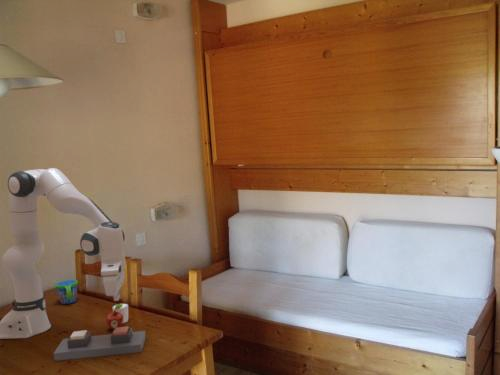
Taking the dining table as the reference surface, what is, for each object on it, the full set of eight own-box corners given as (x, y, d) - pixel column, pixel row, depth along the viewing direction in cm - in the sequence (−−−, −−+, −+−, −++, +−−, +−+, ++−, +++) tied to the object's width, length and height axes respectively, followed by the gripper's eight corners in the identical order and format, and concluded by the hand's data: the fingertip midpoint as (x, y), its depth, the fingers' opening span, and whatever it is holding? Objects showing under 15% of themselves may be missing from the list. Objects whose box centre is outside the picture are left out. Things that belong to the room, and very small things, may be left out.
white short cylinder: (131, 318, 224) (130, 303, 223) (126, 324, 217) (125, 308, 217) (117, 318, 225) (115, 303, 224) (111, 324, 218) (109, 309, 217)
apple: (117, 332, 208) (115, 309, 207) (104, 331, 211) (101, 308, 210) (128, 325, 216) (125, 303, 214) (114, 324, 218) (112, 302, 217)
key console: (54, 361, 186) (52, 345, 185) (64, 346, 198) (62, 331, 198) (141, 352, 188) (140, 336, 187) (145, 337, 201) (144, 323, 200)
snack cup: (57, 299, 258) (55, 280, 257) (79, 295, 261) (76, 276, 260) (57, 308, 243) (55, 288, 242) (80, 304, 247) (78, 284, 246)
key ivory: (71, 344, 189) (70, 336, 189) (74, 338, 194) (73, 331, 194) (84, 342, 190) (83, 335, 189) (87, 337, 195) (86, 330, 194)
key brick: (114, 340, 191) (113, 332, 190) (116, 334, 196) (115, 327, 195) (127, 338, 191) (126, 331, 191) (129, 333, 196) (128, 326, 196)
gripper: (110, 258, 200) (113, 291, 202) (99, 272, 180) (103, 309, 182) (126, 257, 201) (129, 290, 202) (117, 271, 181) (120, 308, 182)
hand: (117, 299), depth 192 cm, fingers closed
